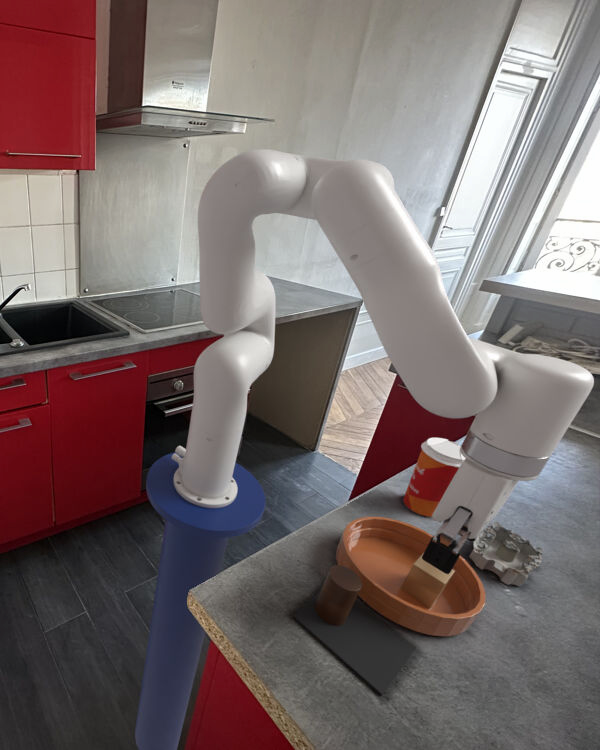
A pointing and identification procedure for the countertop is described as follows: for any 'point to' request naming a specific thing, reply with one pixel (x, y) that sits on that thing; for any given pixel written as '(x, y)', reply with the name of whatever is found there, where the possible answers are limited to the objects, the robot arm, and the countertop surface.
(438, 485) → the paper cup
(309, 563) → the countertop surface
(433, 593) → the birch block
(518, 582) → the egg carton
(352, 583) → the walnut cylinder
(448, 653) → the countertop surface
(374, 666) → the mat
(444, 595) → the pan
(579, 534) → the countertop surface
